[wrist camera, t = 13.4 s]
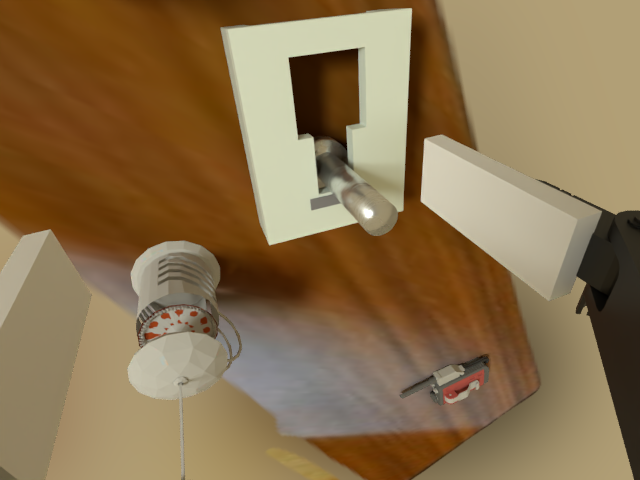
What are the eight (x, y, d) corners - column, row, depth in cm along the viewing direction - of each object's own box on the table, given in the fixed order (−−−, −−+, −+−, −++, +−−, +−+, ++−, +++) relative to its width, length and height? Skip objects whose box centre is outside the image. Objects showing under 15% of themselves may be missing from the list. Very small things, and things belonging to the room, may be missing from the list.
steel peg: (293, 140, 39) (348, 196, 27) (341, 131, 41) (413, 180, 29) (299, 187, 42) (350, 255, 30) (343, 177, 44) (409, 239, 32)
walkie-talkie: (484, 345, 74) (396, 387, 71) (499, 362, 71) (407, 407, 67) (482, 371, 79) (400, 411, 76) (497, 387, 76) (411, 430, 72)
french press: (160, 225, 39) (150, 447, 19) (248, 268, 46) (311, 468, 25) (113, 292, 41) (59, 557, 21) (204, 324, 48) (230, 550, 27)
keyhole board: (220, 27, 32) (227, 29, 28) (384, 9, 36) (413, 8, 32) (260, 223, 43) (269, 246, 39) (382, 194, 47) (403, 211, 43)
